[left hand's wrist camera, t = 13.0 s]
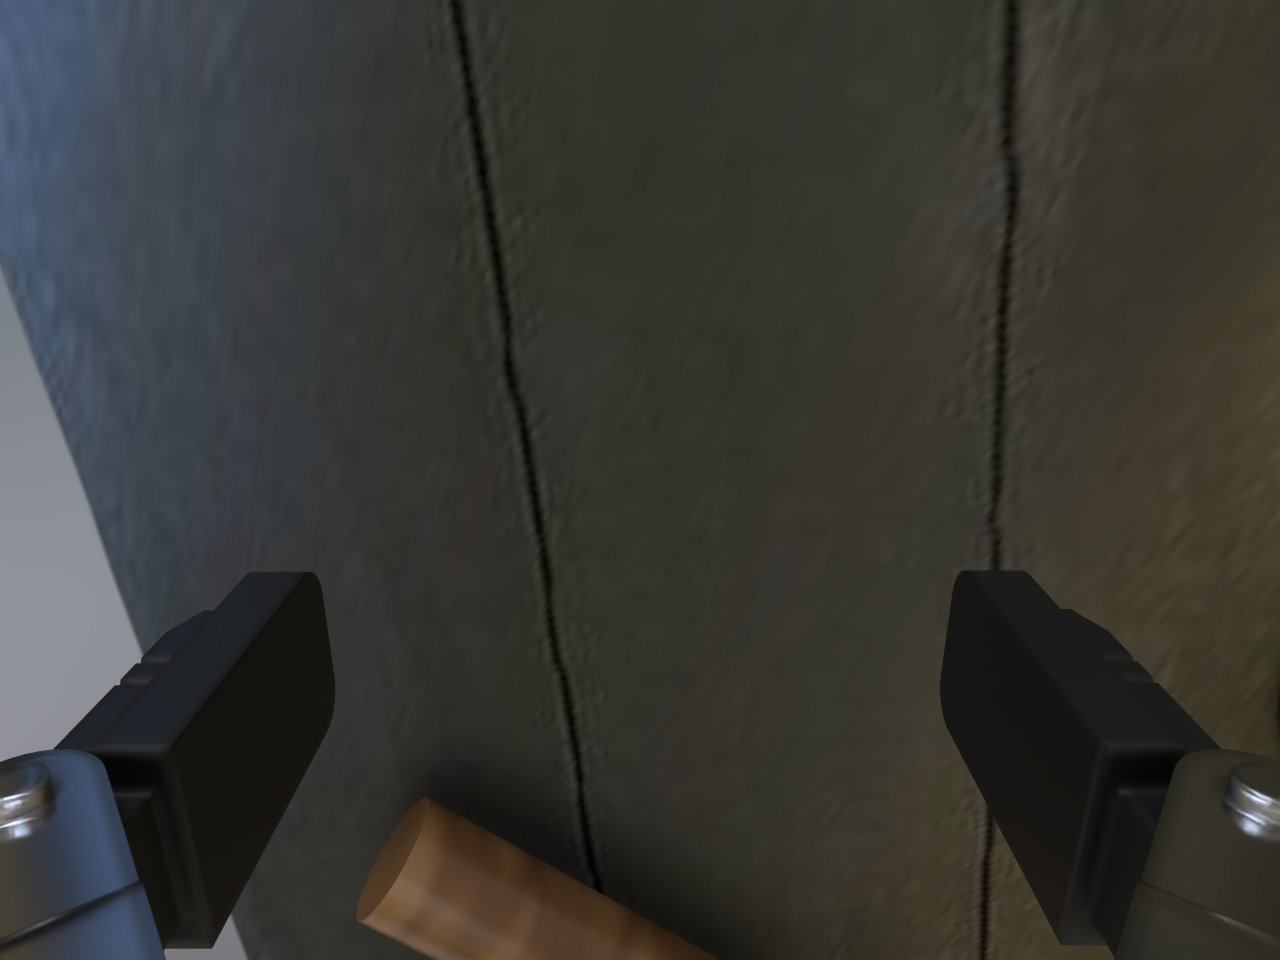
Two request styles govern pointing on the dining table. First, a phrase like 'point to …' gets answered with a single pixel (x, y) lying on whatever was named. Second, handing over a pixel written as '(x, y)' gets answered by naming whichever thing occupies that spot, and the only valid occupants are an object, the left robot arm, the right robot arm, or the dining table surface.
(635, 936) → the rod
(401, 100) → the dining table surface
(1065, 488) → the dining table surface
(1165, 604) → the dining table surface
